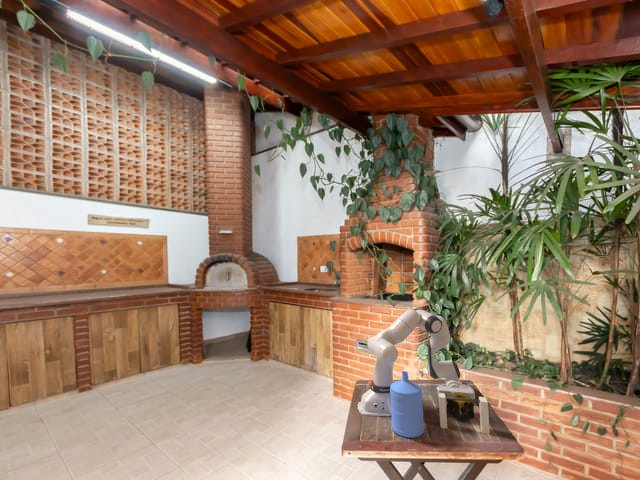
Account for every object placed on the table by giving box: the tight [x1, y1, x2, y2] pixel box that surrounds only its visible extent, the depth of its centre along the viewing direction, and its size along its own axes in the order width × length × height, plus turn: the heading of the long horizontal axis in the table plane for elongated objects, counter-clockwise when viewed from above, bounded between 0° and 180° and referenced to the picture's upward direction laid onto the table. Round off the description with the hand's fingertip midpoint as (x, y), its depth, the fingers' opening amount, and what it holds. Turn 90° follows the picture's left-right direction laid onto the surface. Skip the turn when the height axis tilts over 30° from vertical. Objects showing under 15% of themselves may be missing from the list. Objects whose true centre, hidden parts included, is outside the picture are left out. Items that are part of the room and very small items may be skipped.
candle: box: [446, 392, 475, 423], centre depth 163 cm, size 10×10×10 cm
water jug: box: [390, 370, 425, 439], centre depth 152 cm, size 16×16×28 cm
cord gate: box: [437, 392, 490, 435], centre depth 151 cm, size 22×5×15 cm, turn 73°
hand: (457, 398), depth 171 cm, fingers closed
